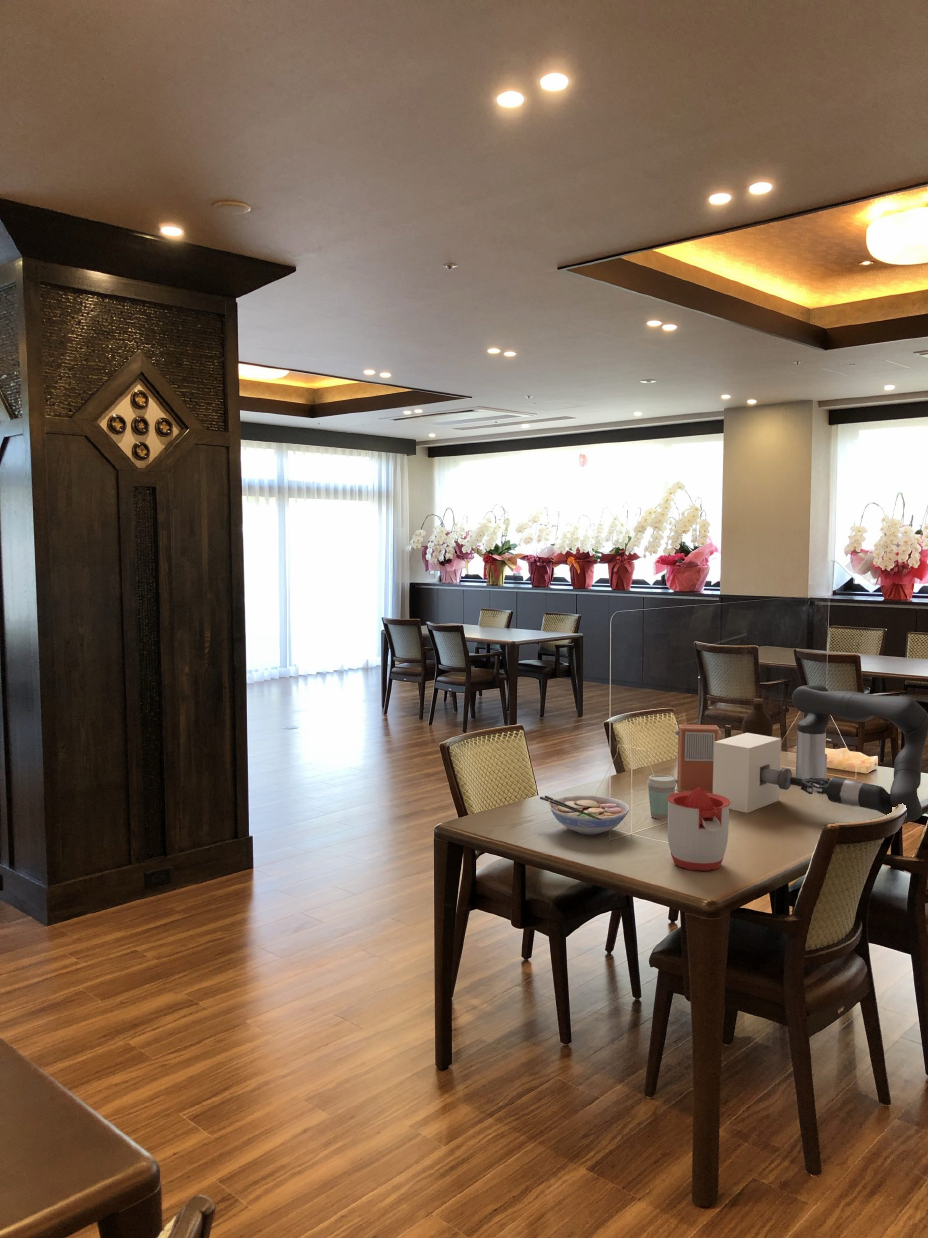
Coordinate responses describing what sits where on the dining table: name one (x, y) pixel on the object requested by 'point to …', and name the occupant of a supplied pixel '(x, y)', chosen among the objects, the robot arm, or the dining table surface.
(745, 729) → the olive oil
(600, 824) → the ramen bowl
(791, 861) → the dining table surface
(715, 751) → the knob mount
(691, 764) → the orange radio
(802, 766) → the robot arm
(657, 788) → the coffee cup
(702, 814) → the citrus juicer
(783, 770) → the knob
